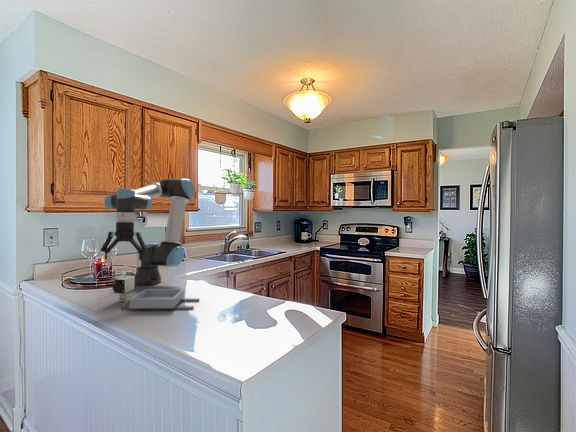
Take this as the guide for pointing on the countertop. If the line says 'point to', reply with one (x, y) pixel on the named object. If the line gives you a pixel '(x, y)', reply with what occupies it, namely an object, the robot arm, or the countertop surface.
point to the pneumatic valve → (124, 286)
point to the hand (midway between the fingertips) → (123, 266)
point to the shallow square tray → (157, 298)
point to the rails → (127, 307)
